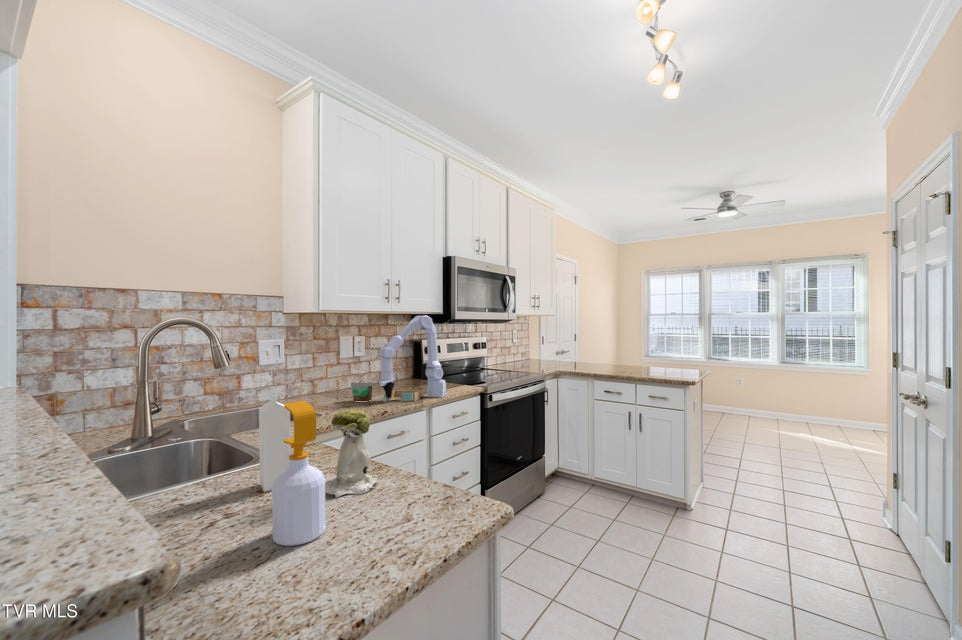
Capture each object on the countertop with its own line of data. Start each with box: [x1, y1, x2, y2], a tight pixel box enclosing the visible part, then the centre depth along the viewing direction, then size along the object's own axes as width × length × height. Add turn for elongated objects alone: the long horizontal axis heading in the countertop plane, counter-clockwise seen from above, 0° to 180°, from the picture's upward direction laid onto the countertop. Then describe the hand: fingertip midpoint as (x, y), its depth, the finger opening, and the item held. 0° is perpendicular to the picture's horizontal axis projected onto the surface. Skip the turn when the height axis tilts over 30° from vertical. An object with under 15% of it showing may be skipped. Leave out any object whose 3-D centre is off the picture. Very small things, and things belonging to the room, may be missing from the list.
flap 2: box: [401, 393, 413, 400], centre depth 206 cm, size 6×1×3 cm, turn 78°
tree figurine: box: [325, 409, 379, 499], centre depth 99 cm, size 12×13×18 cm
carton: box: [387, 389, 421, 402], centre depth 212 cm, size 15×8×4 cm, turn 78°
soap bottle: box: [271, 400, 327, 547], centre depth 77 cm, size 9×9×25 cm
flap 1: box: [383, 393, 388, 403], centre depth 205 cm, size 6×1×3 cm, turn 179°
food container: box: [350, 380, 374, 401], centre depth 207 cm, size 12×6×10 cm, turn 73°
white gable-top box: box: [258, 394, 292, 493], centre depth 101 cm, size 6×6×22 cm
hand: (388, 397), depth 205 cm, fingers closed, pressing on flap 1
